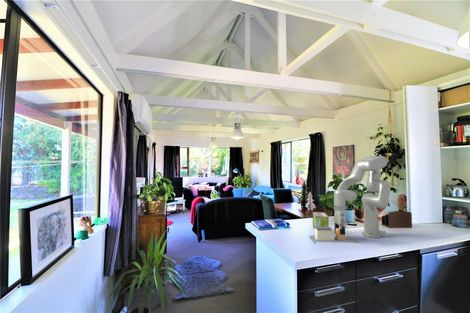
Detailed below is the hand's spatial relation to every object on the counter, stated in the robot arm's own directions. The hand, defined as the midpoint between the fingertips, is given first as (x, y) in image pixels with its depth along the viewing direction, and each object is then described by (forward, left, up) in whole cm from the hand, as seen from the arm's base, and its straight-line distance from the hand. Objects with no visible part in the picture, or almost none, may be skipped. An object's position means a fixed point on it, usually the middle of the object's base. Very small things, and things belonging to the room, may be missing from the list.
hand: (339, 232), depth 161 cm
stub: (-1, 0, -5) cm, 5 cm away
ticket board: (+4, 0, -6) cm, 7 cm away
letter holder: (-64, -40, -6) cm, 75 cm away
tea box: (+7, -19, -6) cm, 22 cm away
